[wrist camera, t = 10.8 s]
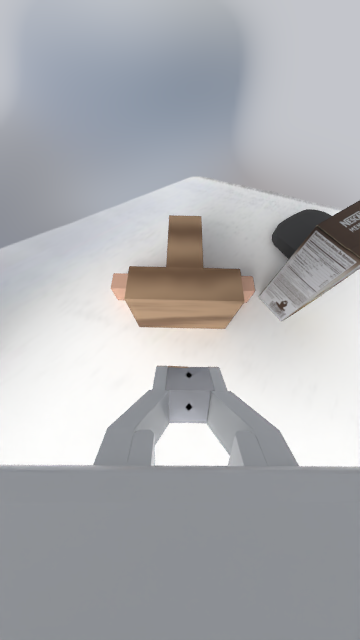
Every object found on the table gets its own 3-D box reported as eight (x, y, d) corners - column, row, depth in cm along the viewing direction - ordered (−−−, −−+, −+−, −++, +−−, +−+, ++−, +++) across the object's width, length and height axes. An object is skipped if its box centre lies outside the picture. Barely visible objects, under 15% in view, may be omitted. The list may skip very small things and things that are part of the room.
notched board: (246, 302, 34) (255, 291, 30) (118, 300, 34) (110, 288, 30) (244, 288, 35) (252, 276, 31) (120, 286, 35) (113, 273, 31)
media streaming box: (314, 284, 36) (325, 275, 34) (263, 237, 41) (269, 226, 38) (359, 254, 39) (373, 243, 37) (308, 214, 44) (316, 201, 41)
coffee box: (290, 275, 37) (367, 193, 22) (315, 299, 35) (419, 226, 20) (256, 297, 34) (316, 223, 20) (281, 323, 32) (368, 262, 18)
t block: (225, 328, 32) (244, 301, 23) (139, 327, 32) (124, 298, 23) (219, 260, 38) (233, 217, 28) (147, 259, 38) (137, 214, 28)
